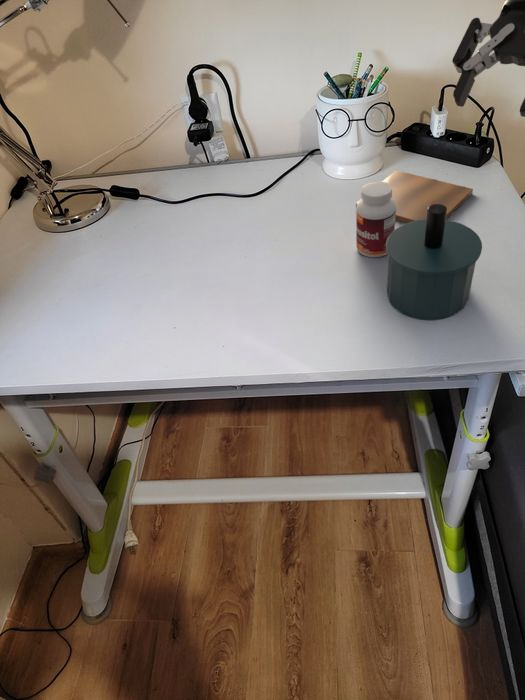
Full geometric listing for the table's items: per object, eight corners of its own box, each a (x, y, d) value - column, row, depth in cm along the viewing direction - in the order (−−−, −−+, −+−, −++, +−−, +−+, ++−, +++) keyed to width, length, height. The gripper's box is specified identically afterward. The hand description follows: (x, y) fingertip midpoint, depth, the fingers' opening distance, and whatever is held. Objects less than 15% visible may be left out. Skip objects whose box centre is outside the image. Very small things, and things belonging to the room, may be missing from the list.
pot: (482, 285, 76) (492, 237, 70) (443, 331, 71) (451, 283, 65) (412, 261, 82) (416, 215, 76) (372, 301, 77) (373, 255, 71)
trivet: (472, 193, 93) (473, 188, 93) (434, 231, 87) (434, 226, 86) (395, 174, 102) (395, 170, 101) (355, 207, 95) (355, 203, 95)
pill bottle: (348, 250, 87) (347, 191, 79) (371, 233, 89) (372, 174, 81) (378, 263, 83) (379, 203, 75) (401, 245, 85) (405, 185, 78)
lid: (497, 240, 70) (506, 197, 65) (452, 290, 64) (460, 247, 60) (414, 216, 77) (418, 176, 72) (368, 260, 71) (368, 219, 66)
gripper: (486, -43, 63) (430, 87, 66) (613, -45, 56) (543, 103, 59) (497, -5, 69) (445, 113, 72) (612, -1, 62) (550, 130, 65)
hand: (489, 108), depth 66 cm, fingers open, 8 cm apart
